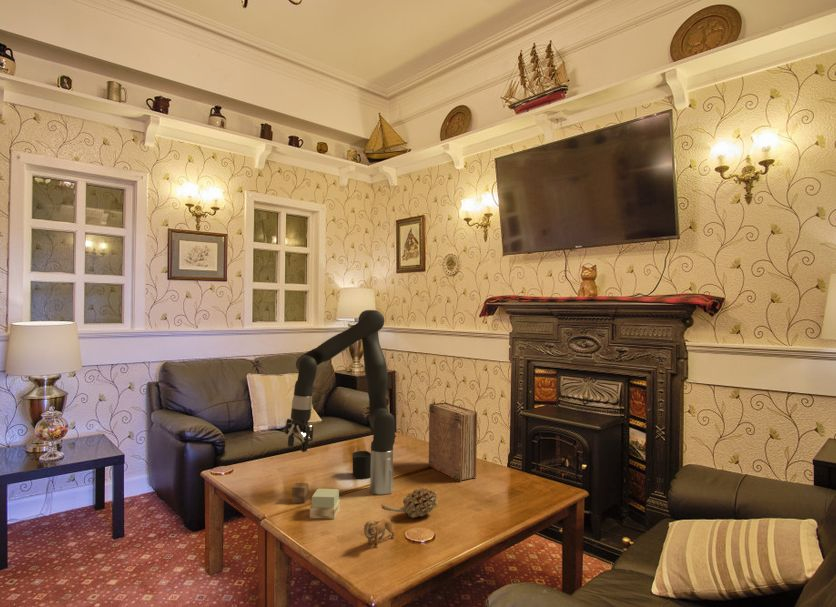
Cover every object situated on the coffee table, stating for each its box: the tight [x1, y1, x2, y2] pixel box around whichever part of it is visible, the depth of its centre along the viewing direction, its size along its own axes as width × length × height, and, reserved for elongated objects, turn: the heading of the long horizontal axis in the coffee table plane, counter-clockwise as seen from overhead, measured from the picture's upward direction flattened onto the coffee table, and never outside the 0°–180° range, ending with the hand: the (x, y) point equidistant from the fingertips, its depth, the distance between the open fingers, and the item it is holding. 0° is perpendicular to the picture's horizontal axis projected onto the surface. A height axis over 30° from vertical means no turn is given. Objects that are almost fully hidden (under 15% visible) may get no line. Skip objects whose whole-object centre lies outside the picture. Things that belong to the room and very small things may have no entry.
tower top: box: [311, 488, 340, 508], centre depth 184 cm, size 8×8×4 cm
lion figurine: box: [363, 518, 395, 549], centre depth 162 cm, size 15×5×9 cm, turn 151°
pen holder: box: [351, 450, 371, 480], centre depth 226 cm, size 9×9×10 cm
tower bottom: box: [309, 498, 341, 520], centre depth 184 cm, size 9×9×4 cm
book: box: [428, 402, 478, 483], centre depth 233 cm, size 25×9×30 cm, turn 32°
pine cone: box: [380, 487, 439, 519], centre depth 182 cm, size 22×10×10 cm, turn 115°
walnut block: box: [291, 482, 309, 504], centre depth 196 cm, size 5×5×6 cm
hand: (297, 448), depth 194 cm, fingers open, 8 cm apart
